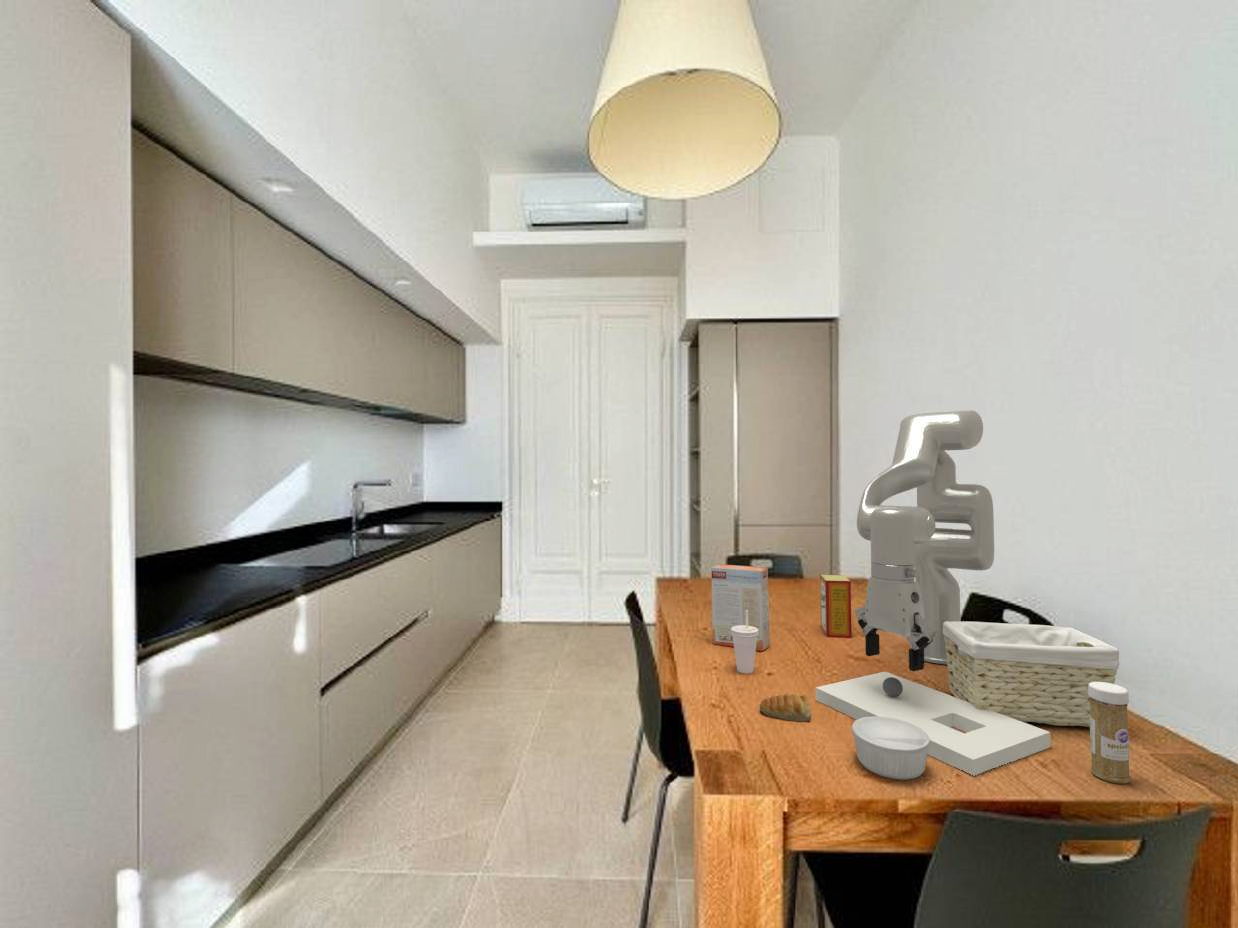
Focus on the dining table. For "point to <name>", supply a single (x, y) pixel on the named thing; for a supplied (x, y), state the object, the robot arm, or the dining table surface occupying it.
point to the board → (940, 721)
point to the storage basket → (1027, 669)
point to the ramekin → (891, 747)
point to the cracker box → (739, 602)
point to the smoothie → (745, 646)
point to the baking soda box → (835, 606)
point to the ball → (892, 687)
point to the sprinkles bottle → (1109, 731)
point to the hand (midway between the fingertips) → (893, 662)
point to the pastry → (787, 707)
